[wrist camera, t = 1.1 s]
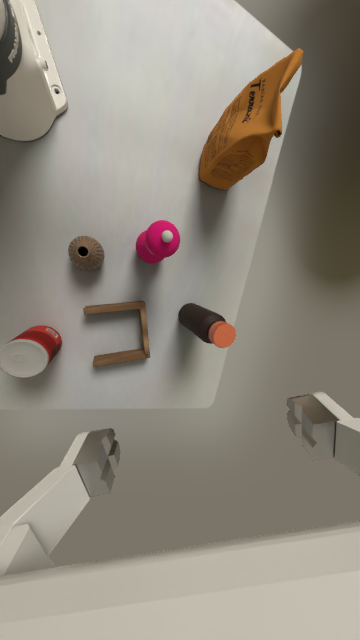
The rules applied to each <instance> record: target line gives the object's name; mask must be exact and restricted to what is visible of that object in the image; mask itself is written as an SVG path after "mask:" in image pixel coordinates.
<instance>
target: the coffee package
mask: <svg viewBox="0 0 360 640" xmlns="http://www.w3.org/2000/svg"><path fill="white" fill-rule="evenodd" d="M302 55H303V50H301V49H297V50H296V51H294V52H292V53H291V54H290V55H289V56H287V57H285V58H283V59H282V60H280V61H279V62H277V63H276V64H275V65H273V66H272V67H271V68H269V69H268V70H266V71H265V72H263V73H261V74H260V75H259V76H258V77H257V78H255V79H254V80H253V81H251V82H250V83H249V84H248V85H247V86H246V87H245V88H244V89H243V90H242V91H241V93H240V94H239V95H238V96H237V97H236V98H235V99H234V100H233V101H232V103H231V104H230V105H229V106H228V107H227V108H226V109H225V111H224V113H223V115H222V116H221V118H220V120H219V121H218V123H217V124H216V125H215V127H214V128H213V130H212V131H211V133H210V135H209V136H208V140H207V142H206V144H205V146H204V148H203V152H202V156H201V163H200V172H199V178H200V180H201V181H203V182H205V183H207V184H209V185H210V186H213V187H216V188H218V189H223V190H227V189H229V188H230V187H231V186H232V185H234V184H235V183H237V182H238V181H239V180H241V179H243V177H244V176H246V175H248V174H249V173H251V172H252V171H253V170H254V169H256V168H257V167H259V166H260V165H262V164H263V163H264V161H265V159H266V156H267V152H268V148H269V143H270V141H271V138H272V137H273V135H274V136H275V137H276V138H278V137H280V135H281V134H282V121H281V96H280V93H281V92H283V91H284V89H285V88H286V87H287V85H288V84H289V82H290V80H291V79H292V77H293V76H294V74H295V73H296V72H297V70H298V69H299V67H300V65H301V63H302Z"/></svg>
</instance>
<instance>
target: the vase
mask: <svg viewBox="0 0 360 640" xmlns="http://www.w3.org/2000/svg"><path fill="white" fill-rule="evenodd" d="M68 253H69V257H70V259H71V261H72V262H73V263H74V264H75V265H76V266H77V267H79V268H81V269H83V270H94V269H97V268H98V267H100V266H101V264H102V263H103V261H104V250H103V248H102V246H101V245H100V243H99V242H98V241H96V240H95V239H93V238H91V237H88V236H80V237H77V238H75V239H74V240H72V242H71V243H70V245H69V248H68Z"/></svg>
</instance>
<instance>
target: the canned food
mask: <svg viewBox="0 0 360 640" xmlns="http://www.w3.org/2000/svg"><path fill="white" fill-rule="evenodd" d="M61 344H62V340H61V337H60V335H59V333H58V332H57V331H56V330H54V329H53V328H50V327H47V326H35V327H32V328H30V329H28V330H27V331H25V332H23V333H22V334H20V335H19V336H17V337H16V338H14V339H12V340H11V341H9V342H8V343H6V344H5V345H4V346H3V347H2V348H1V349H0V368H1V369H2V370H3V371H4V372H5V373H7V374H9V375H11V376H14V377H19V378H28V377H33V376H35V375H38V374H39V373H41V372H42V371H43V370H44V369H45V368H46V367H47V365H48V364H49V363H50V361H51V360H52V359H53V357H54V356H55V355H56V353H57V352H58V350H59V349H60V347H61Z"/></svg>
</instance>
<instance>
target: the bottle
mask: <svg viewBox="0 0 360 640" xmlns="http://www.w3.org/2000/svg"><path fill="white" fill-rule="evenodd" d="M179 320H180V322H181V323H182V324H183V325H184V326H185V327H187V328H188V329H189V330H190V331H192V332H193V333H194V334H195V335H196V336H198V337H199V338H200V339H201V340H202V341H204V342H206V343H213V344H215V345H216V346H218V347H220V348H225V347H228V346H229V345H231V344H232V343H233V341H234V339H235V336H236V333H235V329H234V327H233V326H232V325H230V324H228V323H226V321H225V319H224V318H223V317H222V316H221V315H219V314H217V313H215V312H212V311H210V310H208V309H205V308H203V307H201V306H198V305H196V304H193V303H189V304H186V305H184V306H183V307H182V308H181V310H180V311H179Z"/></svg>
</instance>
